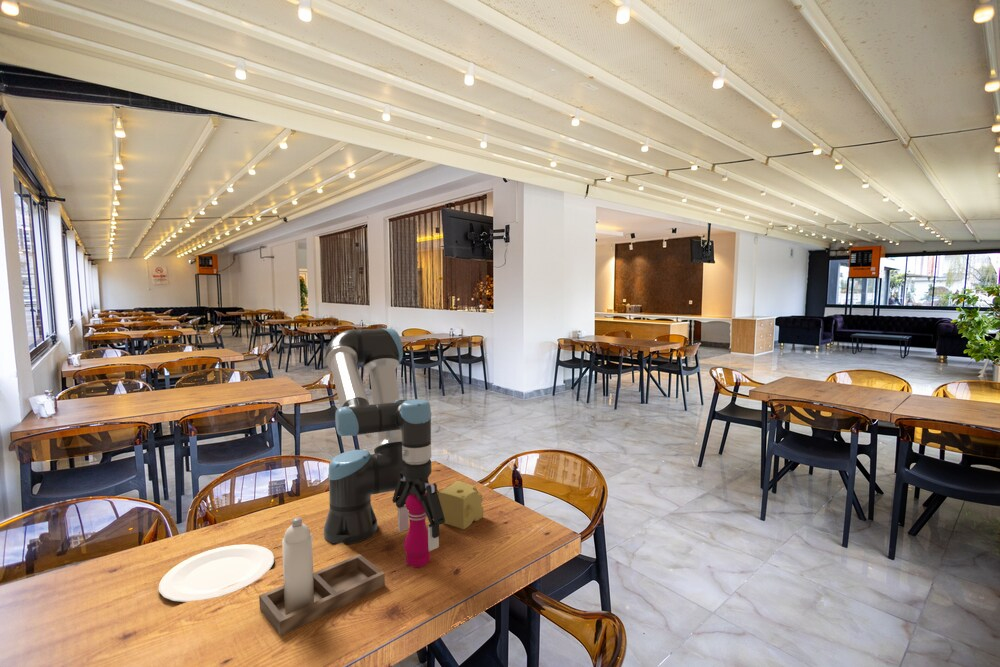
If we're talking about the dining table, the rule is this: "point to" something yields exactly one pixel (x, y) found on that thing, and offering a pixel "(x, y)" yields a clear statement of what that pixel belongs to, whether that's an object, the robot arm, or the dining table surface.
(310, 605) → the wooden compartment tray
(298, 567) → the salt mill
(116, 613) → the dining table surface
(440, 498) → the cheese
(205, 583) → the plate
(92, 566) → the dining table surface
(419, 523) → the pepper mill
